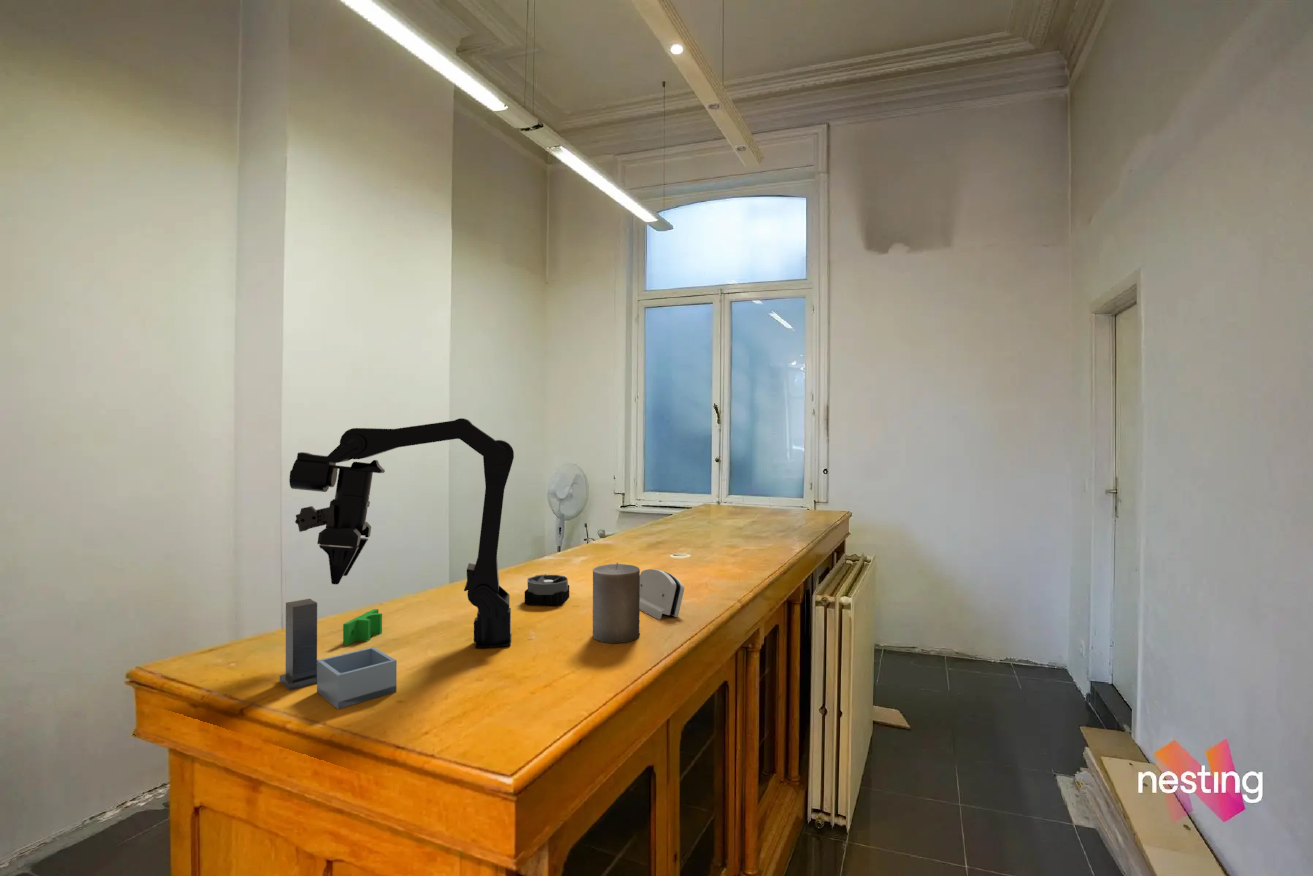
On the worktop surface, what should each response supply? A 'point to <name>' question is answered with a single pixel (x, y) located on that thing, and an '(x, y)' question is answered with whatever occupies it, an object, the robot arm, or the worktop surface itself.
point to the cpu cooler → (547, 590)
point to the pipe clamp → (362, 627)
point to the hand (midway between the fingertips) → (339, 579)
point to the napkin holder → (660, 593)
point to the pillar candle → (616, 603)
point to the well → (356, 677)
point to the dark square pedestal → (300, 644)
